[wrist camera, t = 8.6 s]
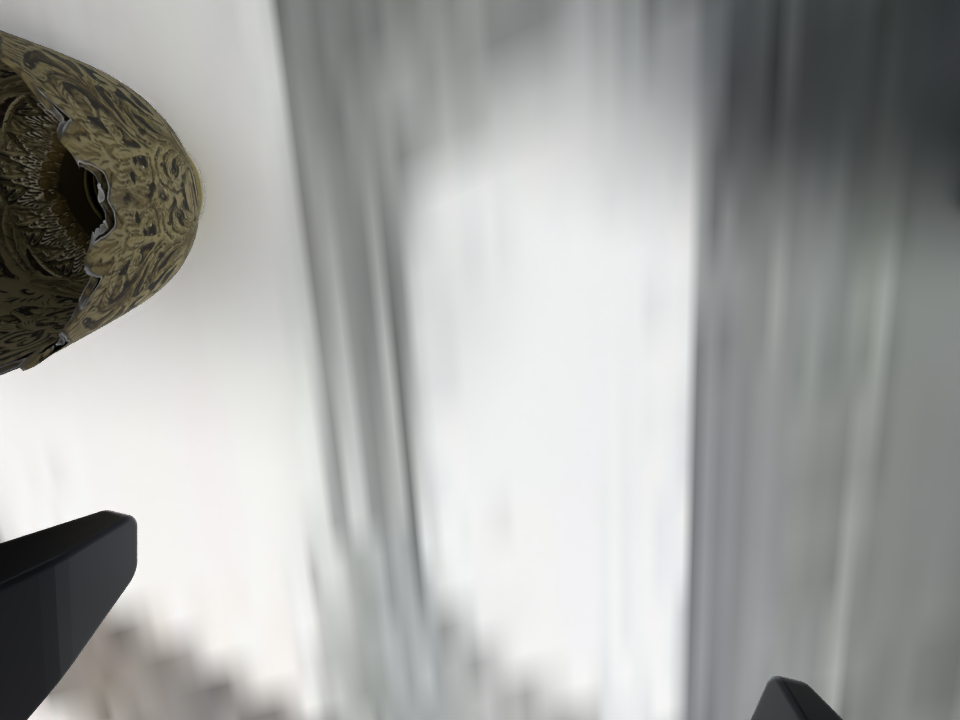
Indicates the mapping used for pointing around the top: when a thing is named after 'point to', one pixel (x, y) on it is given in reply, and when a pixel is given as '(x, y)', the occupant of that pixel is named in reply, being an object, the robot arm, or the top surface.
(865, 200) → the top surface
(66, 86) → the cup
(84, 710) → the top surface
